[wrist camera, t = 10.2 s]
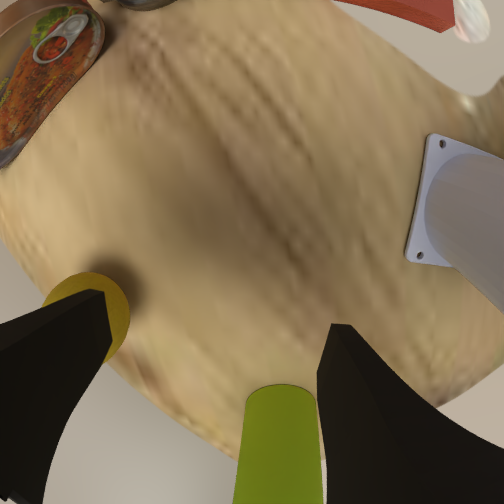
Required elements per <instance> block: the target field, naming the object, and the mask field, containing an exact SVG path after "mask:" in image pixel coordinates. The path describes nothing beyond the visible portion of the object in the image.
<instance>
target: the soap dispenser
mask: <svg viewBox="0 0 504 504" xmlns="http://www.w3.org/2000/svg"><path fill="white" fill-rule="evenodd" d="M233 504H323V487H322V471H321V457H320V445H319V433H318V422H317V411H316V402H315V399H314V397H313V396H312V395H311V394H310V393H309V392H308V391H306V390H304V389H302V388H299V387H296V386H292V385H272V386H267V387H264V388H261V389H259V390H257V391H255V392H254V393H253V394H251V395H250V397H249V398H248V400H247V402H246V407H245V415H244V423H243V431H242V438H241V446H240V453H239V461H238V468H237V475H236V483H235V491H234V498H233Z"/></svg>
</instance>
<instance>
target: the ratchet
mask: <svg viewBox="0 0 504 504" xmlns="http://www.w3.org/2000/svg"><path fill="white" fill-rule="evenodd" d="M116 1H117V2H119V3H120V4H121V5H123V6H124V7H126V8H128V9H130V10H134V11H150V10H155V9H158V8H162V7H164V6H167V5H169V4H171V3H173V2H175V1H177V0H116ZM334 1H340V2H344V3H348V4H353V5H357V6H361V7H365V8H369V9H373V10H376V11H380V12H383V13H386V14H390V15H393V16H396V17H399V18H402V19H405V20H408V21H410V22H413V23H416V24H419V25H421V26H424V27H426V28H429V29H431V30H434V31H436V32H438V33H442V32H443V31H445V30H447V29H449V28H451V27H453V26H455V17H454V7H453V0H334Z"/></svg>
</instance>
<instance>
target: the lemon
mask: <svg viewBox="0 0 504 504" xmlns="http://www.w3.org/2000/svg"><path fill="white" fill-rule="evenodd" d="M89 288H90V289H95V290H99V291H104V293H105V299H106V306H107V312H108V318H109V323H110V328H111V334H112V339H113V342H112V344H111V346H110V349H109V351H108V353H107V355H106V357H105V359H104V362H103V363H105V362H107V361H108V360H109V359H110V358H111V357H112V356H113V355H114V354H115V353H116V352H117V350H118V349H119V348H120V346H121V345H122V343H123V342H124V340H125V338H126V335H127V331H128V328H129V324H130V309H129V305H128V301H127V299H126V297H125V295H124V293H123V291H122V290H121V288H120V287H119V286H118V285H117V284H116V283H115V282H114V281H113V280H111V279H110V278H108V277H106V276H104V275H101V274H98V273H91V272H84V273H79V274H76V275H72V276H70V277H68V278H67V279H65V280H64V281H62V282H61V283H60V284H58V285H57V286H56V287H55V288H54V289H53V290H52V291H51V292H50V294H49V295H48V296H47V298H46V300H45V302H44V303H43V305H42V307H44V306H47V305H49V304H51V303H53V302H56V301H58V300H60V299H63V298H65V297H67V296H70V295H72V294H75V293H77V292H80V291H83V290H86V289H89ZM42 307H41V308H42Z"/></svg>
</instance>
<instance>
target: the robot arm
mask: <svg viewBox="0 0 504 504" xmlns="http://www.w3.org/2000/svg"><path fill="white" fill-rule="evenodd" d="M440 140H442V142H443V147H440V145H439V142H440ZM419 252H421V255H420V256H419V257H417V254H418V253H419ZM405 257H406V258H407V260H408V261H410V262H415V263H423V264H431V265H438V266H446V267H453V268H455V269H456V270H457V271H459V272H460V273H461V274H462V275H463V276H464V277H465V278H466V279H467V280H469V281H470V282H471V283H472V284H473V285H474V286H475V287H476V288H477V289H478V290H479V291H480V292H481V293H482V294H483V295H484V296H485V297H487V298H488V299H489V300H490V301H491V302H492V303H493V304H494V305H495V306H496V307H497V308H498V309H499V310H500V311H501V312H502V313H503V314H504V160H503V159H501V158H499V157H497V156H494V155H492V154H490V153H487V152H485V151H482V150H480V149H478V148H475V147H472V146H470V145H467V144H465V143H462V142H459V141H456V140H454V139H451V138H448V137H445V136H442V135H439V134H434V133H431V134H429V135H428V137H427V140H426V148H425V156H424V162H423V169H422V175H421V181H420V186H419V192H418V197H417V202H416V207H415V212H414V216H413V221H412V225H411V229H410V234H409V238H408V242H407V246H406V249H405ZM112 342H113V339H112V334H111V328H110V323H109V318H108V312H107V306H106V299H105V293H104V291H99V290H95V289H90V288H89V289H86V290H83V291H80V292H77V293H75V294H72V295H70V296H67V297H65V298H63V299H60V300H58V301H56V302H53V303H51V304H49V305H47V306H44V307H42V308H40V309H37V310H35V311H33V312H30V313H28V314H25V315H23V316H20V317H18V318H15V319H13V320H10V321H8V322H5V323H2V324H0V498H1V499H2V500H3V501H7V499H8V498H10V499H11V500H12V501H14V502H15V503H17V504H42V503H43V497H44V491H45V486H46V481H47V477H48V474H49V470H50V466H51V463H52V459H53V457H54V454H55V451H56V448H57V445H58V442H59V440H60V437H61V435H62V433H63V430H64V428H65V425H66V423H67V421H68V419H69V417H70V415H71V413H72V412H73V410H74V408H75V407H76V405H77V403H78V402H79V400H80V398H81V397H82V395H83V394H84V392H85V391H86V389H87V388H88V386H89V384H90V383H91V381H92V380H93V378H94V376H95V375H96V373H97V372H98V370H99V369H100V367H101V365H102V364H103V362H104V359H105V357H106V355H107V353H108V351H109V349H110V346H111V344H112ZM317 401H318V408H319V415H320V422H321V428H322V435H323V442H324V449H325V456H326V466H327V504H504V449H503V448H501V447H498V446H496V445H494V444H492V443H490V442H488V441H486V440H484V439H482V438H480V437H478V436H476V435H475V434H473V433H471V432H469V431H468V430H466V429H464V428H463V427H461V426H460V425H458V424H457V423H455V422H453V421H452V420H451V419H449V418H448V417H446V416H445V415H443V414H442V413H440V412H439V411H438V410H437V409H435V408H434V407H433V406H432V405H430V404H429V403H428V402H427V401H425V400H424V399H423V398H422V397H421V396H419V395H418V394H417V393H416V392H415V391H414V390H413V389H412V388H410V387H409V386H408V385H407V384H406V383H405V382H404V381H403V380H402V379H401V378H400V377H399V376H398V375H397V374H396V373H395V372H394V371H393V370H392V369H391V368H390V367H389V366H388V365H387V364H386V363H385V362H384V361H383V360H382V358H381V357H380V356H379V355H378V354H377V353H376V352H375V351H374V350H373V349H372V348H371V346H370V345H369V344H368V343H367V342H366V341H365V340H364V339H363V338H362V336H361V335H360V334H359V333H358V332H357V331H356V330H355V329H354V328H353V327H352V326H351V325H346V324H333V323H331V326H330V330H329V333H328V337H327V340H326V344H325V347H324V350H323V354H322V357H321V360H320V363H319V367H318V370H317Z"/></svg>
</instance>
